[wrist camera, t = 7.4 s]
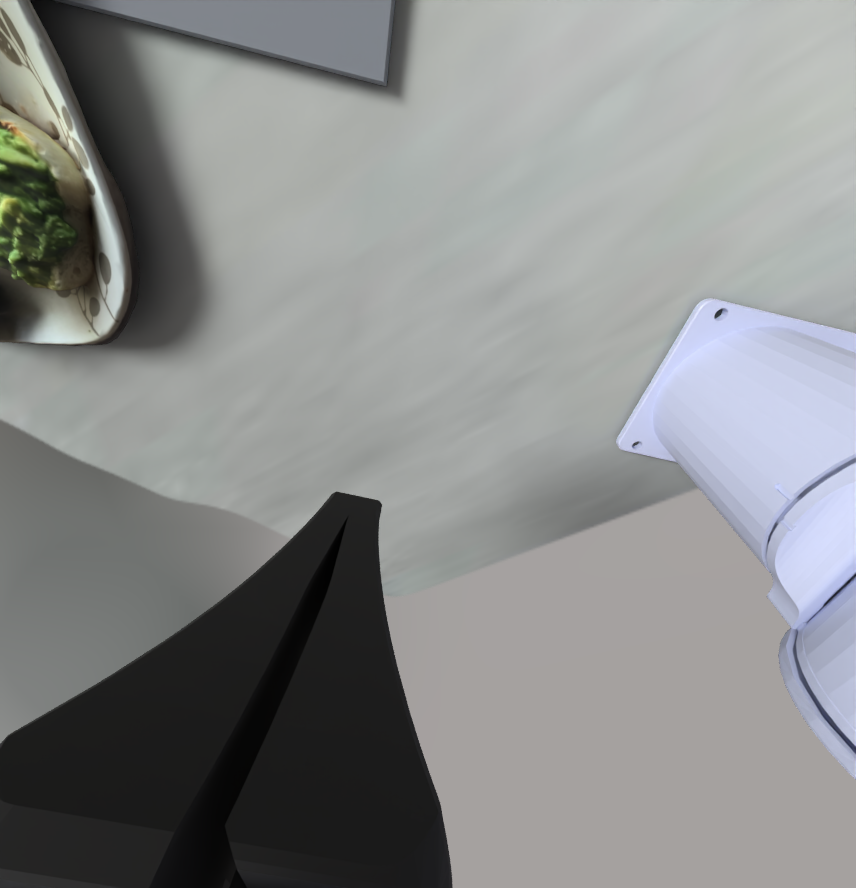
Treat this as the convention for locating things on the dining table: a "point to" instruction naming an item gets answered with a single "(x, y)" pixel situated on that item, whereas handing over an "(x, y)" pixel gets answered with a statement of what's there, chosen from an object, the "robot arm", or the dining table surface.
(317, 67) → the slate mat
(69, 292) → the salad plate
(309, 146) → the dining table surface
